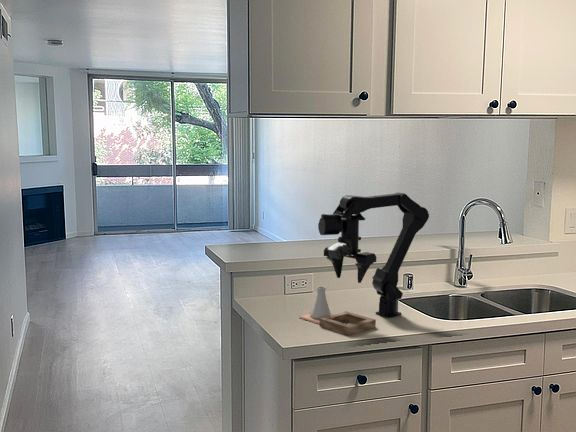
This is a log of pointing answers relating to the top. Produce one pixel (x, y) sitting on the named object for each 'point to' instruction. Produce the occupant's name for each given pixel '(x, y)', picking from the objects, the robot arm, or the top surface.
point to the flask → (320, 305)
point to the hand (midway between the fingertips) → (348, 280)
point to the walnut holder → (335, 324)
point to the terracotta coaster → (310, 318)
